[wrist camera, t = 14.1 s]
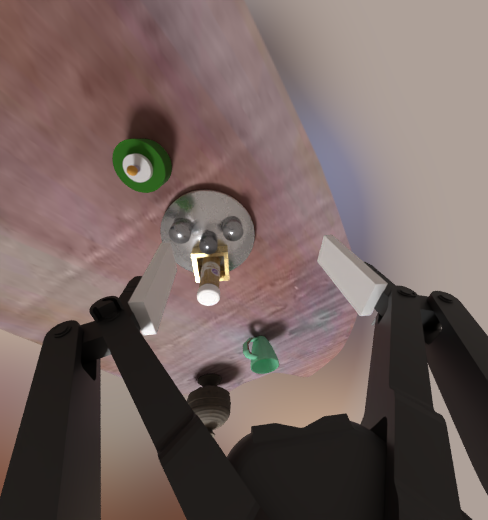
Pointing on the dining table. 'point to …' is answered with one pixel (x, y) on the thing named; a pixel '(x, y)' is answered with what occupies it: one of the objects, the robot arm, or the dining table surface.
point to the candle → (142, 164)
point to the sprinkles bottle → (209, 281)
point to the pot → (210, 402)
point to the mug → (261, 355)
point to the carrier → (208, 231)
